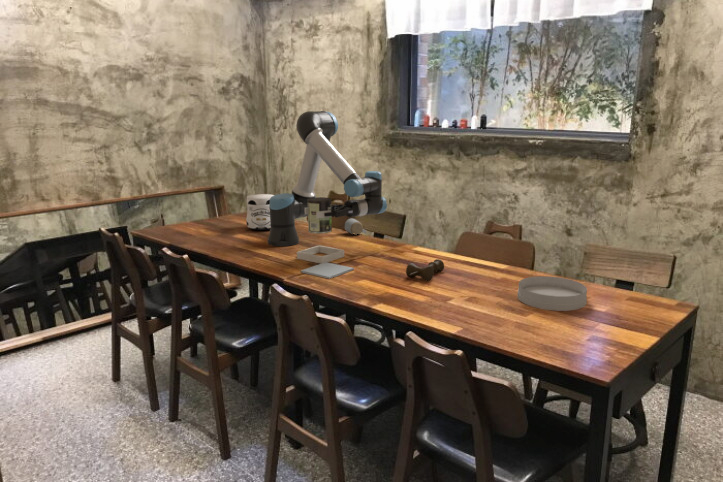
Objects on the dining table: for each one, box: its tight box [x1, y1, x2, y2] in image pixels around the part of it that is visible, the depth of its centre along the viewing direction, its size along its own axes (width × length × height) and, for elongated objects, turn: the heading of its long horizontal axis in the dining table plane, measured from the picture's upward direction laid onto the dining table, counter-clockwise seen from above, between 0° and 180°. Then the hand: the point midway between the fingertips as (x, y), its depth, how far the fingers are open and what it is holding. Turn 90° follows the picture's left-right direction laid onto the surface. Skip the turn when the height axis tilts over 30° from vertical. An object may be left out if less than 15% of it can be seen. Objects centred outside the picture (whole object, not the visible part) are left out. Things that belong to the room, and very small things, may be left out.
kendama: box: [405, 258, 445, 282], centre depth 210 cm, size 6×10×20 cm
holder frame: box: [296, 245, 345, 264], centre depth 238 cm, size 15×15×3 cm
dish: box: [516, 275, 588, 312], centre depth 184 cm, size 22×22×5 cm
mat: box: [300, 262, 355, 280], centre depth 218 cm, size 15×15×1 cm
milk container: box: [245, 193, 274, 231], centre depth 297 cm, size 17×17×18 cm
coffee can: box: [307, 196, 333, 235], centre depth 234 cm, size 10×10×14 cm
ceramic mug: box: [344, 217, 367, 236], centre depth 284 cm, size 11×8×8 cm
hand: (310, 213), depth 232 cm, fingers closed on coffee can, 10 cm apart
